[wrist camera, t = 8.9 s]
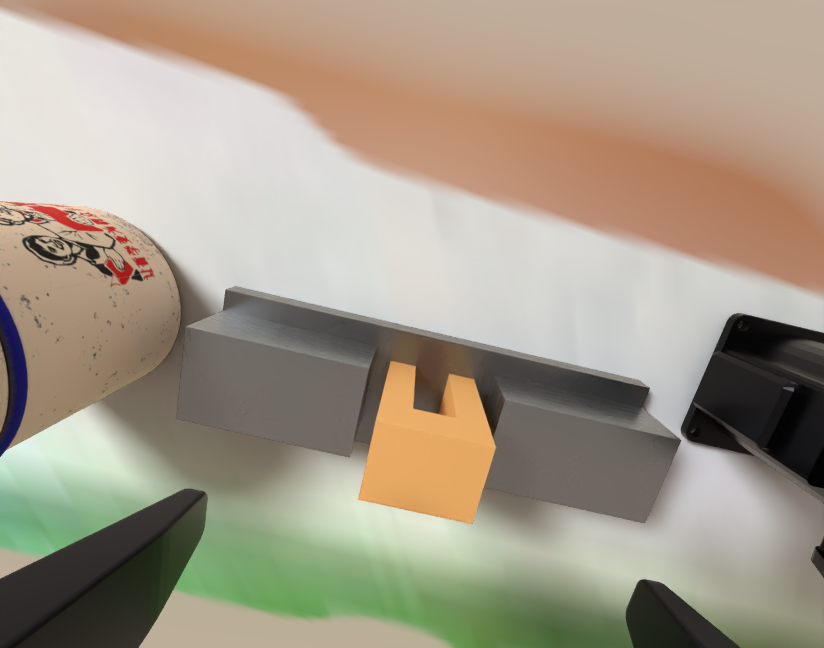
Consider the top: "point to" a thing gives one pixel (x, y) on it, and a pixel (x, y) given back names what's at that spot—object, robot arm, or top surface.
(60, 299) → the teacup with lid
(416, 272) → the top surface
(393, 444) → the clip
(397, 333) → the rail
